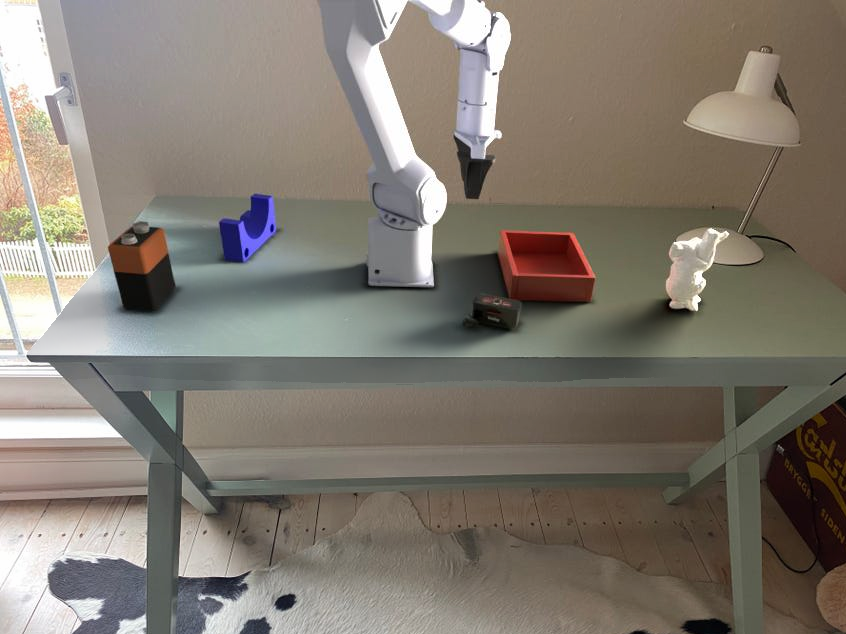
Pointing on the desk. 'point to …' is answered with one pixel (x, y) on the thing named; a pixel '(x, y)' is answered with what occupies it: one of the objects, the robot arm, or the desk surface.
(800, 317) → the desk surface
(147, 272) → the battery
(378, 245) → the robot arm
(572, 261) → the red open box
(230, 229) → the blue pipe saddle mount
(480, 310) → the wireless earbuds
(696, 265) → the koala figurine
